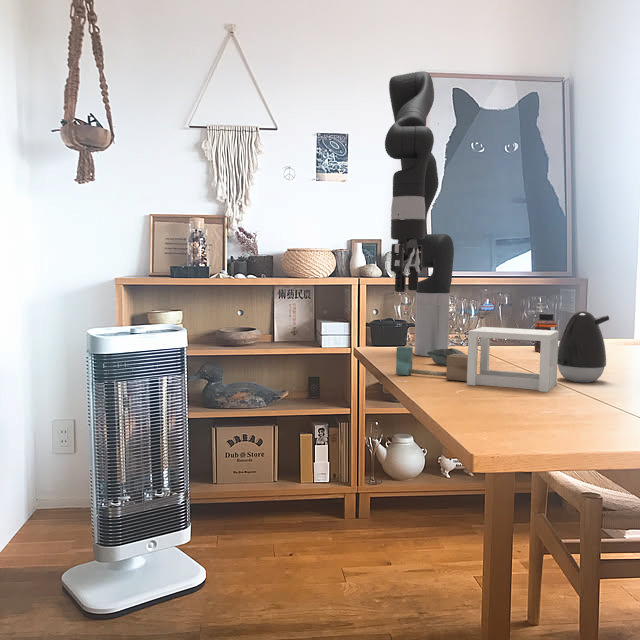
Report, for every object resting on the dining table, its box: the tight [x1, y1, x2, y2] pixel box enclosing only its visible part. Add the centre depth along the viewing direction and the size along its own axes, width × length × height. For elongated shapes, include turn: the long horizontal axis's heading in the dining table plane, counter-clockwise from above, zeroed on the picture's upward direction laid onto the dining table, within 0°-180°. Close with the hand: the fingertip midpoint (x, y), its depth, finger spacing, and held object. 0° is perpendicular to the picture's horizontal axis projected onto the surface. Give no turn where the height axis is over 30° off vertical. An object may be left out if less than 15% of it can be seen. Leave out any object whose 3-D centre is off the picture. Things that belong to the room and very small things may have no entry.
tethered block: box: [395, 345, 468, 382], centre depth 154 cm, size 5×17×6 cm, turn 63°
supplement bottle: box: [534, 312, 558, 353], centre depth 205 cm, size 6×6×11 cm
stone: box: [427, 347, 467, 366], centre depth 175 cm, size 11×4×10 cm
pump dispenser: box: [557, 310, 610, 383], centre depth 152 cm, size 10×10×15 cm
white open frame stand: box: [466, 326, 560, 393], centre depth 146 cm, size 12×16×11 cm
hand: (406, 291), depth 157 cm, fingers open, 8 cm apart
